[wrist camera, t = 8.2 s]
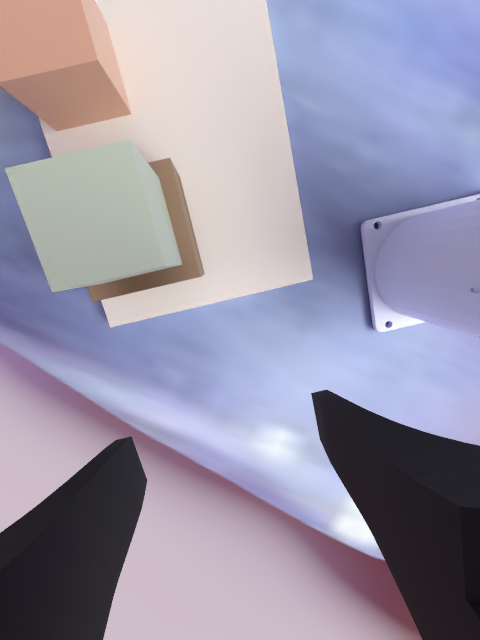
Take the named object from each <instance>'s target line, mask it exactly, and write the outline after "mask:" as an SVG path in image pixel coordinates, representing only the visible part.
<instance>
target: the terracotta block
mask: <svg viewBox="0 0 480 640" xmlns="http://www.w3.org/2000/svg"><path fill="white" fill-rule="evenodd" d="M0 87H1V88H3V89H4V90H5V91H7V92H8V93H9V94H10V95H12V96H13V97H14V98H16V99H17V100H18V101H19V102H21V103H22V104H23V105H24V106H26V107H27V108H28V109H30V110H31V111H32V112H33V113H35V114H36V115H37V116H39V117H40V118H41V119H42V120H44V121H45V122H46V123H47V124H49V125H50V126H51V127H53V128H54V129H55V130H56V131H61V130H66V129H70V128H75V127H79V126H83V125H88V124H92V123H96V122H101V121H105V120H109V119H114V118H118V117H122V116H127V115H131V114H132V113H131V109H130V106H129V102H128V98H127V95H126V91H125V87H124V84H123V80H122V77H121V73H120V69H119V66H118V62H117V59H116V55H115V51H114V48H113V44H112V41H111V37H110V33H109V30H108V26H107V23H106V21H105V19H104V17H103V15H102V13H101V11H100V9H99V7H98V5H97V3H96V1H95V0H0Z"/></svg>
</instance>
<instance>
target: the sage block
mask: <svg viewBox="0 0 480 640" xmlns="http://www.w3.org/2000/svg"><path fill="white" fill-rule="evenodd" d="M5 171H6V173H7V176H8V179H9V181H10V184H11V187H12V189H13V192H14V194H15V197H16V200H17V202H18V205H19V207H20V210H21V213H22V215H23V218H24V220H25V223H26V226H27V228H28V231H29V234H30V236H31V239H32V241H33V244H34V247H35V249H36V252H37V254H38V257H39V260H40V262H41V265H42V268H43V270H44V273H45V275H46V278H47V281H48V283H49V286H50V288H51V291H52V293H53V292H59V291H64V290H70V289H75V288H81V287H86V286H92V285H97V284H103V283H107V282H111V281H115V280H120V279H124V278H128V277H132V276H136V275H141V274H145V273H149V272H153V271H158V270H162V269H166V268H170V267H175V266H179V265H183V264H182V261H181V257H180V253H179V250H178V246H177V242H176V239H175V235H174V231H173V228H172V224H171V220H170V217H169V213H168V209H167V206H166V202H165V198H164V194H163V191H162V187H161V183H160V180H159V177H158V176H157V174H156V173H155V172H154V170H153V169H152V168H151V167H150V165H149V164H148V163H147V161H146V160H145V159H144V158H143V156H142V155H141V154H140V152H139V151H138V150H137V148H136V147H135V146H134V145H133V143H132V142H131V141H130V139H129V140H124V141H120V142H116V143H111V144H107V145H103V146H99V147H94V148H90V149H86V150H81V151H77V152H73V153H68V154H64V155H60V156H55V157H51V158H47V159H43V160H38V161H34V162H30V163H25V164H21V165H17V166H12V167H8V168H5Z"/></svg>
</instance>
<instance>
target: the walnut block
mask: <svg viewBox="0 0 480 640" xmlns="http://www.w3.org/2000/svg"><path fill="white" fill-rule="evenodd" d="M148 164H149V165H150V167H151V168H152V169H153V170H154V172H155V173H156V174H157V176H158V177H159V180H160V183H161V187H162V191H163V194H164V198H165V202H166V206H167V209H168V213H169V217H170V220H171V224H172V228H173V231H174V235H175V239H176V242H177V246H178V250H179V253H180V257H181V261H182V264H183V265H179V266H175V267H170V268H166V269H162V270H158V271H153V272H149V273H145V274H141V275H136V276H132V277H128V278H124V279H120V280H115V281H111V282H107V283H103V284H97V285H92V286H87V288H88V291H89V293H90V296H91V299H92V302H96V301H100V300H104V299H109V298H113V297H117V296H121V295H126V294H130V293H134V292H138V291H143V290H147V289H151V288H155V287H160V286H164V285H168V284H172V283H177V282H181V281H185V280H189V279H194V278H198V277H201V276H203V275H204V274H205V273H204V269H203V266H202V262H201V258H200V254H199V250H198V246H197V242H196V238H195V234H194V230H193V226H192V222H191V218H190V214H189V211H188V207H187V203H186V199H185V195H184V191H183V187H182V183H181V179H180V176H179V174H178V172H177V170H176V168H175V166H174V165H173V163H172V161H171V159H170V158H166V159H162V160H158V161H153V162H149V163H148Z"/></svg>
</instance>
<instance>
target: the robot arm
mask: <svg viewBox="0 0 480 640" xmlns="http://www.w3.org/2000/svg"><path fill="white" fill-rule="evenodd" d="M475 200H476V201H475ZM375 222H376V223H378V228H377V229H375V228H374V224H375ZM361 236H362V244H363V252H364V260H365V268H366V276H367V283H368V291H369V299H370V307H371V315H372V323H373V328H374V330H375V331H377V332H386V331H391V330H395V329H399V328H403V327H407V326H412V325H416V324H420V323H424V322H428V323H431V324H435V325H438V326H441V327H445V328H448V329H452V330H455V331H458V332H462V333H465V334H468V335H472V336H475V337H478V338H480V194H476V195H472V196H468V197H464V198H459V199H455V200H451V201H447V202H442V203H438V204H434V205H429V206H425V207H421V208H417V209H412V210H408V211H404V212H400V213H395V214H391V215H387V216H383V217H378V218H374V219H370V220H366V221H364V222H363V223H362V225H361ZM387 321H389V325H388V326H387V327H386V326H385V324H386V322H387ZM311 394H312V399H313V404H314V410H315V415H316V420H317V426H318V431H319V436H320V440H321V442H322V444H323V447H324V449H325V451H326V454H327V456H328V458H329V460H330V462H331V464H332V466H333V467H334V469H335V471H336V473H337V474H338V476H339V478H340V479H341V481H342V483H343V484H344V486H345V488H346V489H347V491H348V493H349V494H350V496H351V498H352V499H353V501H354V503H355V504H356V506H357V508H358V509H359V511H360V513H361V514H362V516H363V518H364V519H365V521H366V523H367V525H368V527H369V529H370V530H371V532H372V534H373V536H374V538H375V540H376V542H377V544H378V546H379V548H380V550H381V552H382V555H383V557H384V559H385V561H386V563H387V565H388V567H389V569H390V571H391V573H392V575H393V577H394V579H395V581H396V584H397V586H398V588H399V590H400V592H401V594H402V596H403V598H404V601H405V603H406V605H407V607H408V609H409V611H410V613H411V615H412V618H413V620H414V622H415V624H416V626H417V629H418V630H419V633H420V635H421V637H422V639H423V640H480V446H478V445H473V444H469V443H464V442H460V441H456V440H452V439H448V438H444V437H440V436H437V435H433V434H430V433H426V432H423V431H420V430H417V429H414V428H411V427H408V426H405V425H402V424H399V423H397V422H394V421H392V420H389V419H387V418H384V417H382V416H380V415H377V414H375V413H373V412H371V411H368V410H366V409H364V408H362V407H360V406H358V405H356V404H354V403H352V402H350V401H348V400H346V399H344V398H342V397H340V396H338V395H336V394H334V393H333V392H330V391H328V390H323V391H319V392H315V393H311ZM146 484H147V479H146V476H145V473H144V470H143V468H142V465H141V462H140V459H139V456H138V454H137V451H136V448H135V445H134V442H133V440H132V437H128V438H124V439H119V440H116V441H114V442H113V443H111V444H110V445H109V446H107V447H106V448H105V449H104V450H103V451H101V452H100V453H99V454H98V455H97V456H96V457H94V458H93V459H92V460H91V461H90V462H89V463H87V465H85V466H84V467H83V468H82V469H81V470H79V471H78V472H77V473H76V474H75V475H74V476H73V477H71V478H70V479H69V480H68V481H67V482H65V483H64V484H63V485H62V486H61V487H59V488H58V489H57V490H56V491H55V492H53V493H52V494H51V495H50V496H48V497H47V498H46V499H45V500H44V501H42V502H41V503H40V504H39V505H37V506H36V507H35V508H33V509H32V510H31V511H29V512H28V513H27V514H26V515H24V516H23V517H22V518H20V519H19V520H17V521H16V522H15V523H13V524H12V525H11V526H9V527H8V528H6V529H5V530H4V531H3V532H1V533H0V640H103V637H104V633H105V629H106V625H107V621H108V617H109V612H110V608H111V604H112V600H113V596H114V593H115V589H116V586H117V583H118V579H119V576H120V573H121V570H122V567H123V564H124V561H125V558H126V555H127V552H128V549H129V546H130V543H131V540H132V537H133V534H134V531H135V528H136V524H137V521H138V518H139V515H140V512H141V508H142V504H143V500H144V495H145V489H146Z"/></svg>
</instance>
